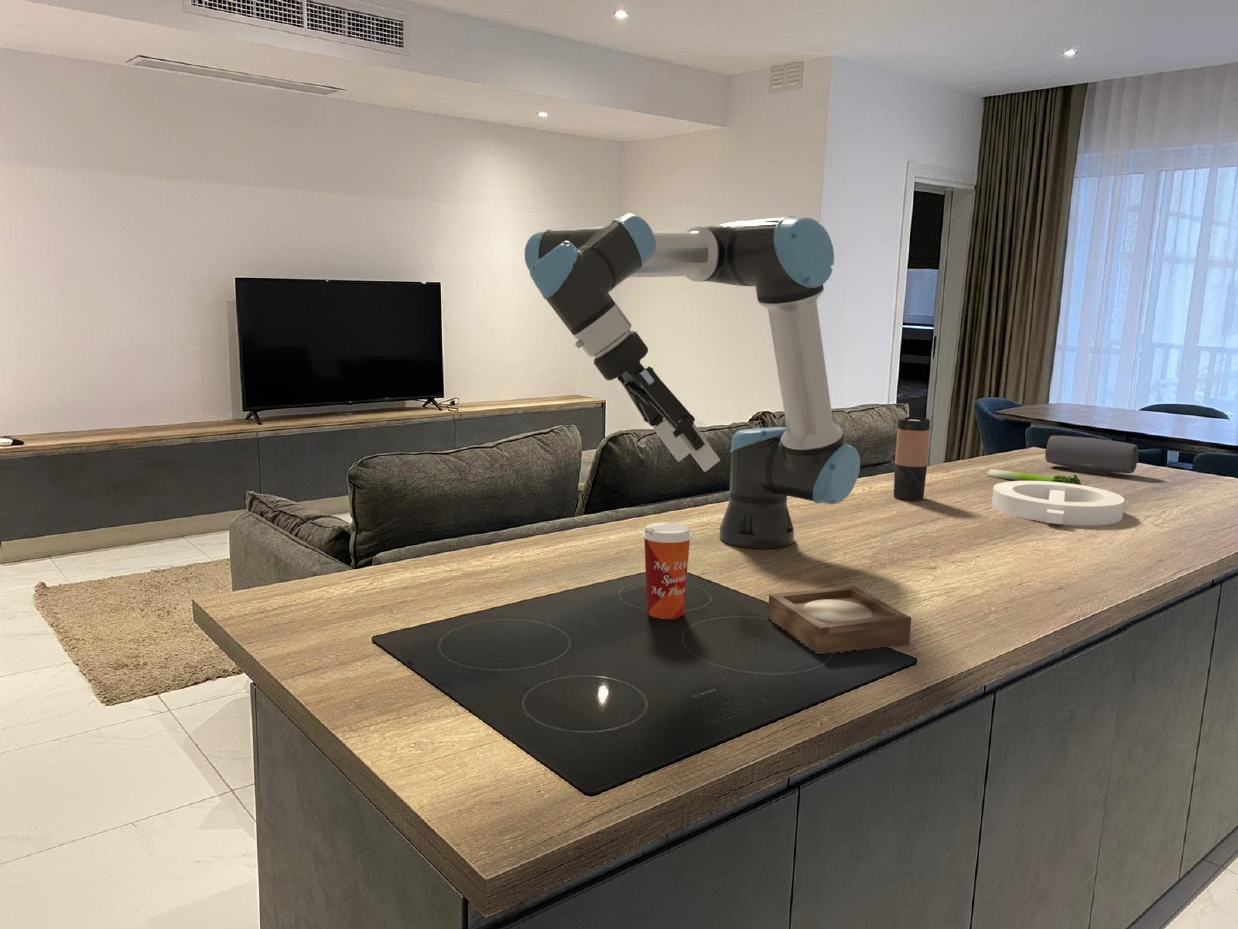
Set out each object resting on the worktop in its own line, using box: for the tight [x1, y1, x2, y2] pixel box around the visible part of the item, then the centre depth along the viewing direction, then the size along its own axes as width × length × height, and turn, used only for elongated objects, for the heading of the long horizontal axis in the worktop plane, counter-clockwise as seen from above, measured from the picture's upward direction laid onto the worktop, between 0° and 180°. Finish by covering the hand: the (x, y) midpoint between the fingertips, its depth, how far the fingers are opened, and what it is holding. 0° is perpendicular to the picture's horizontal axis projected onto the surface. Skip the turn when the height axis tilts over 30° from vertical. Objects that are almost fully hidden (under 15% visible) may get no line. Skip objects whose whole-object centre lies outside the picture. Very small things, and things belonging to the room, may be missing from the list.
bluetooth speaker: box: [1044, 435, 1139, 476], centre depth 263 cm, size 23×9×10 cm, turn 46°
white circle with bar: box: [991, 480, 1125, 527], centre depth 214 cm, size 28×28×5 cm
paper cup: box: [641, 522, 693, 619], centre depth 140 cm, size 8×8×14 cm
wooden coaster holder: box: [767, 585, 912, 655], centre depth 135 cm, size 15×15×4 cm
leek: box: [986, 468, 1082, 485], centre depth 242 cm, size 6×7×30 cm
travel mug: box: [893, 416, 931, 502], centre depth 224 cm, size 8×8×20 cm
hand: (698, 460), depth 132 cm, fingers open, 13 cm apart
